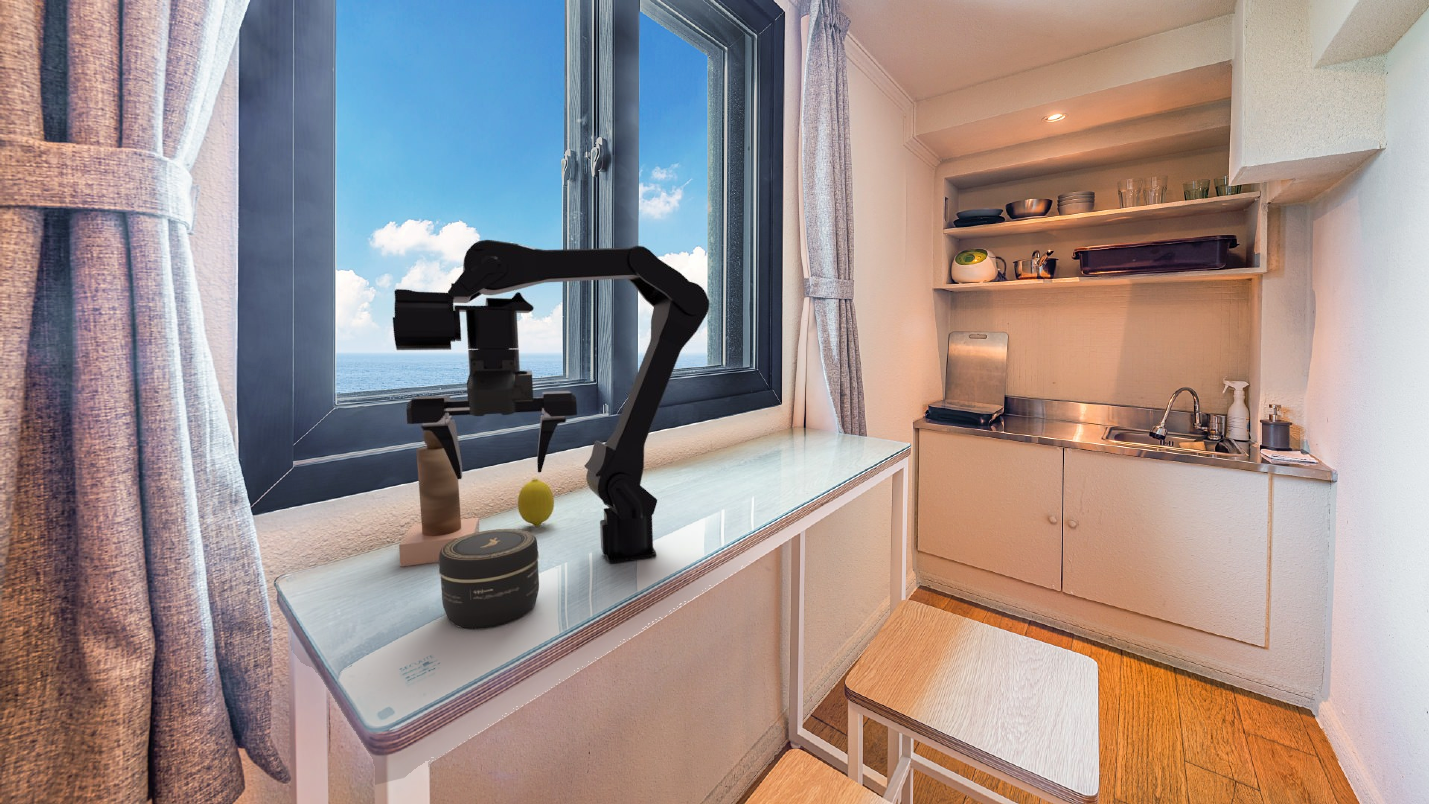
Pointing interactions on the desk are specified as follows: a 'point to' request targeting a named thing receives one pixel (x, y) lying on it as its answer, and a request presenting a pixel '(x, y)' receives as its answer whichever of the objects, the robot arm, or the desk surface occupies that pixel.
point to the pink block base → (430, 543)
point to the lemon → (535, 502)
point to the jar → (489, 577)
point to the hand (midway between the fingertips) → (500, 475)
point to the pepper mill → (437, 489)
